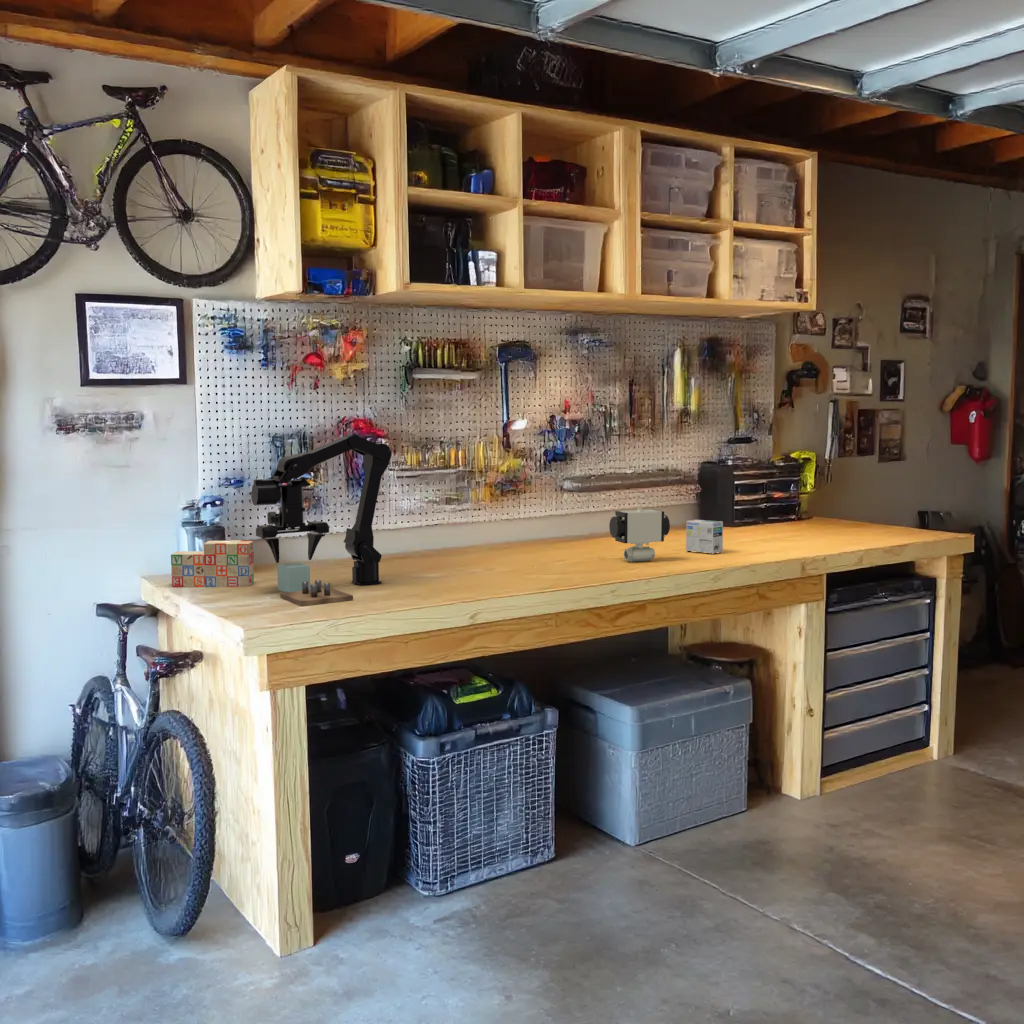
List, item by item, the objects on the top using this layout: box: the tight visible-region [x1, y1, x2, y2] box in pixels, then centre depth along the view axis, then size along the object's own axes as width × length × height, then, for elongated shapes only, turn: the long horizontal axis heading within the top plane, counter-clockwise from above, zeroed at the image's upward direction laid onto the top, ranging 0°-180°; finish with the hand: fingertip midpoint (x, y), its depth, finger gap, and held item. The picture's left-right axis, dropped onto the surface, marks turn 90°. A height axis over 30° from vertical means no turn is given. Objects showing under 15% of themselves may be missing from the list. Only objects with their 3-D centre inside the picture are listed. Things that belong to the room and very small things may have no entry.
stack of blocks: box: [170, 539, 255, 588], centre depth 281 cm, size 21×6×12 cm, turn 92°
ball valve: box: [608, 505, 671, 563], centre depth 322 cm, size 18×8×18 cm, turn 108°
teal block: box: [276, 562, 311, 593], centre depth 273 cm, size 6×8×7 cm
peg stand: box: [279, 579, 354, 607], centre depth 260 cm, size 14×14×4 cm
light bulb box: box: [685, 519, 724, 553], centre depth 341 cm, size 11×7×11 cm, turn 49°
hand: (293, 561), depth 272 cm, fingers open, 9 cm apart
